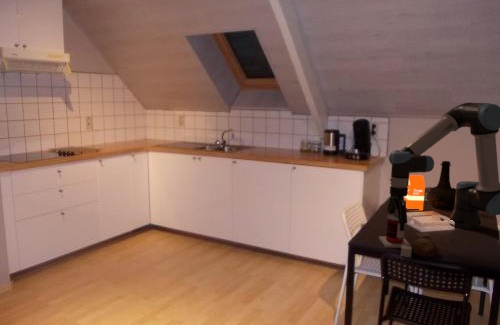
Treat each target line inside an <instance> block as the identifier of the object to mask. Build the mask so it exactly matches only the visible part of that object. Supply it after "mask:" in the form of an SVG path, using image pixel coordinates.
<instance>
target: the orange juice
mask: <svg viewBox="0 0 500 325" xmlns="http://www.w3.org/2000/svg"><path fill="white" fill-rule="evenodd" d="M407 188H408V195H407V196H404V197H403V200H405V201H406V208H407V209H419V210H418V211H423V210H424V202H425V193H426V192H425V189H426V182H425V177H424V175H421V174H419V175H416V174H412V175H411V174H409V185H408V187H407ZM407 209H406V210H407Z"/></svg>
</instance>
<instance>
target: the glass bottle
mask: <svg viewBox="0 0 500 325" xmlns="http://www.w3.org/2000/svg"><path fill="white" fill-rule="evenodd" d="M440 166H441V170H440V175H439V180H438V183H437V185H436V186H434V187H432V188H430V189H429V190H428V191H427V195H426V198H427V200H428V203H429V204H430V205H432V206H433V207H434V208H437V209H440V210H452V209H454V202H455V191H456V188H455V187H452V186H451V185H452V184H451V180H450V179H451V177H450V176H451V174H450V170H451V169H450V168H451V166H452V164H451V161H449V160H443V161H442V162H441V163H440Z"/></svg>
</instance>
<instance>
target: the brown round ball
mask: <svg viewBox="0 0 500 325" xmlns="http://www.w3.org/2000/svg"><path fill="white" fill-rule="evenodd" d="M420 238H424V239H428V240H430V241H432V236H431V235H430V234H428V233H426V232H424V231H423V232H414V235H413V243H414V242H415V241H416V240H417V239H420Z"/></svg>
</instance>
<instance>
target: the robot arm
mask: <svg viewBox="0 0 500 325" xmlns="http://www.w3.org/2000/svg"><path fill="white" fill-rule="evenodd" d="M466 127H467V128H469V129H470V135H471V136H473V137H474V144H475V155H476V156H475V157H476V168H477V179H478V181H473V180H471V181H468V180H467V181H459V182H457V183H456V186H455V187H456V188H455V189H456V191H455V202H454V208H453V210H452V212H451V214H450V216H449V218H448V220H449V219H450V220H453V221H454V222H455V226H454V227H455V228H458V229H463V230H480V229H481V228H482V221H481V216H480V211H481V212H484V213H487V215H494V216H499V215H500V178H499V177H500V176H499V175H500V174H499V162H498V152H497V138H496V136H497V134H498V133H499V131H500V106H498V105H497V104H494V103H489V102H464V103H461V104H459V105H457V106H455V107H453V108H451V109H450V110H449V111H447V112H445V114H443V115H442V116H441V119H440V120H438V121H437V122H436V123H434V124H433V125H432V126H431V127H429V128H428V129H427V130H426V131H424V132H423V133H421V134H420V135H419V136H418V137H416V138H414V139H413V140H412V141H411V142H410V143H408V144H407V145H406V146H405V147H403V148H401V149H400V150H399V149H396V150H392V151H391V152H390V154H389V155H388V160H389V163H390V165H391V173H390V178H389V181H390V187H389V195H390V197H389V200H388V204H387V207H386V212H388V216H389V215H396V214H397V215H398V218H399V222H398V230H397V238H404V239H405V231H404V229H405V228H406V224H408V215H407V214H408V213H407V209H406V201H405V200H404V196H407V195H408V188H407V187H408V185H409V175H410V174H413V173H415V174H416V173H423V174H424V173H429V172H431V171H433V169H434V167H435V160H434V158H433V157H432V156H431V155H426V154H424V153H425V152H427V151H428V150H429V149H430V148H432V147H433V146H435V145H436V144H437V143H438V142H440V141H441V140H442V139H444V138H445V137H446V136H447V135H449V134H450V133H451V132H456V131H458V130H459V129H461V128H466ZM396 210H397V213H396ZM388 216H387V217H388Z"/></svg>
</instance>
